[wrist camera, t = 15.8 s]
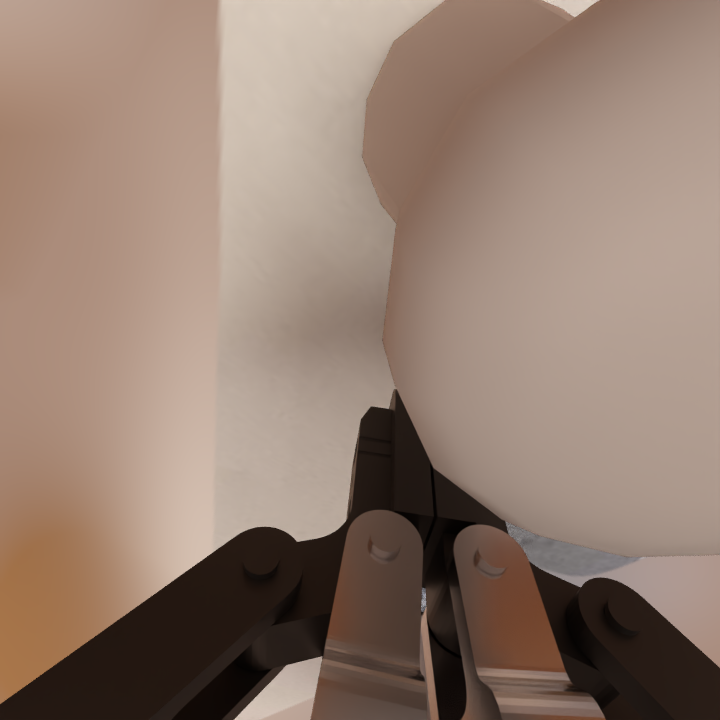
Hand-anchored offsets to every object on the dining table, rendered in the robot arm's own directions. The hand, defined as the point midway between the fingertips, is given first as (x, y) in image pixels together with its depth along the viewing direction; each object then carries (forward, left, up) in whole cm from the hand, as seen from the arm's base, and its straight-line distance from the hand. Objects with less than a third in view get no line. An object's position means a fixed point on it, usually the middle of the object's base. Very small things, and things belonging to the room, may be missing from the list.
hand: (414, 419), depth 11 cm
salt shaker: (+6, 0, -7) cm, 9 cm away
